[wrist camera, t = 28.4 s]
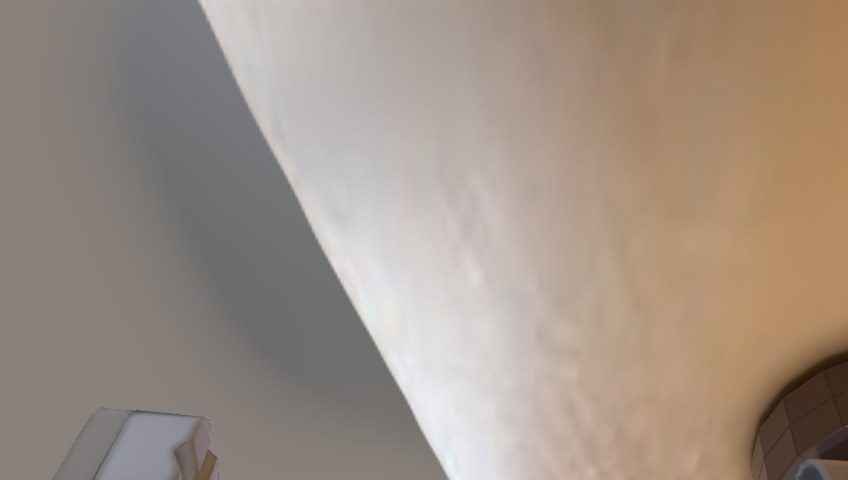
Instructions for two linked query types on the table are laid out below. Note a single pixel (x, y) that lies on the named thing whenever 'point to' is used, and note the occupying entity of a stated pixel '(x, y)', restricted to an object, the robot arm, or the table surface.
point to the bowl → (805, 427)
